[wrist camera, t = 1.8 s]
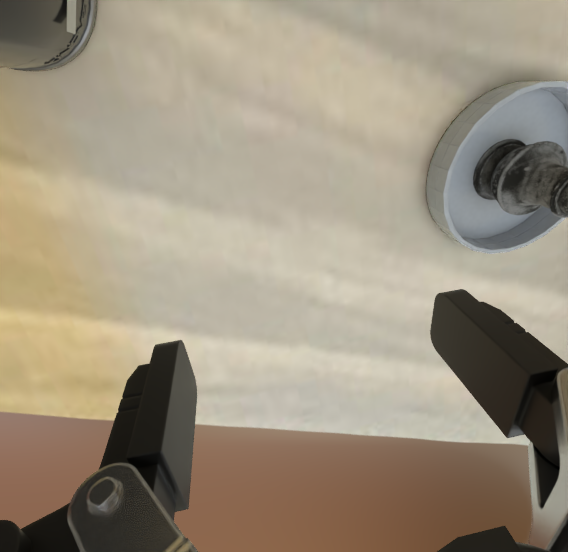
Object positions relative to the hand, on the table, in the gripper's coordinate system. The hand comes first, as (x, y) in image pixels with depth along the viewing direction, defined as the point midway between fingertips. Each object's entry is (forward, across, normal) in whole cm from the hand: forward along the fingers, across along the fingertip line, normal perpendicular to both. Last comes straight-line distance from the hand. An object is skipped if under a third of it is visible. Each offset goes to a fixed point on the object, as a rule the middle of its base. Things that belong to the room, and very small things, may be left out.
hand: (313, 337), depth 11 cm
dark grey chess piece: (+20, -22, +2) cm, 29 cm away
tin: (+20, -22, +2) cm, 29 cm away
